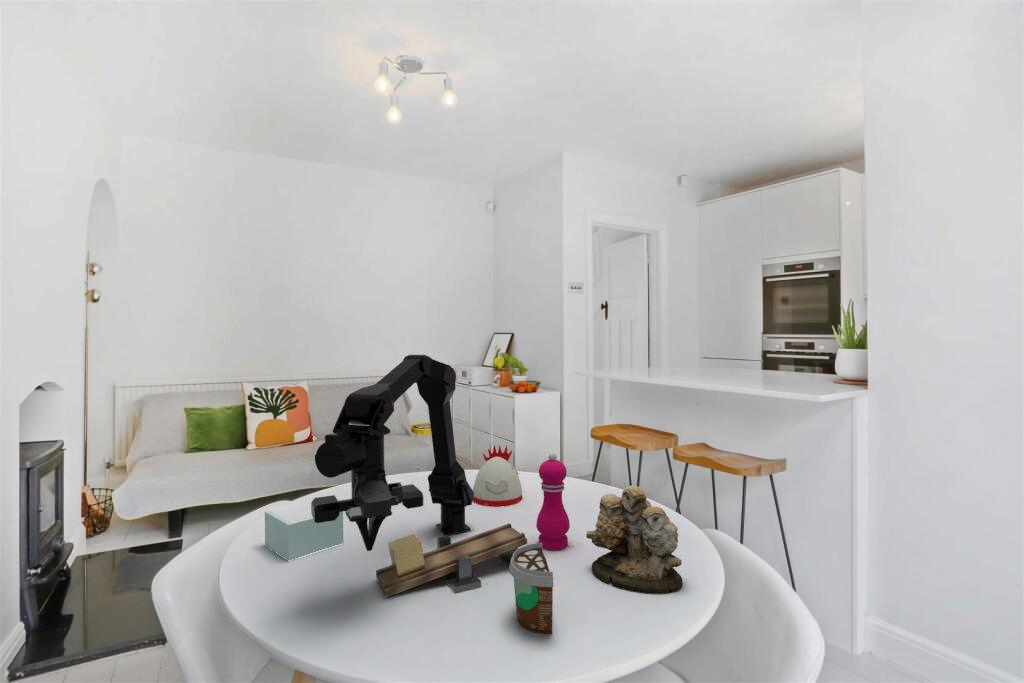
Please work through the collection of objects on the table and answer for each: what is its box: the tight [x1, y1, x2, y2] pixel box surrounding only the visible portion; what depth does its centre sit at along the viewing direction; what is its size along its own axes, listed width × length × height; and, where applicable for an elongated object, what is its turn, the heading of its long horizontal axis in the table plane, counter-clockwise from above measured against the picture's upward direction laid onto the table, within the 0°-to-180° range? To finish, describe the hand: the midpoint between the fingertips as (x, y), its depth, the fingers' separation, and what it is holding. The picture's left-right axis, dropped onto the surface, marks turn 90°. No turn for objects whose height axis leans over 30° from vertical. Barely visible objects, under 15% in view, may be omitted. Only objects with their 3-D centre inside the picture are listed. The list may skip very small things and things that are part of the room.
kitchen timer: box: [472, 444, 523, 508], centre depth 148 cm, size 14×14×15 cm
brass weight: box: [387, 533, 425, 578], centre depth 98 cm, size 5×4×6 cm
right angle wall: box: [264, 510, 344, 560], centre depth 117 cm, size 12×12×8 cm
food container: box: [508, 542, 554, 635], centre depth 86 cm, size 12×6×10 cm, turn 5°
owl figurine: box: [585, 484, 684, 595], centre depth 100 cm, size 18×12×17 cm, turn 63°
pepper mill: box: [535, 452, 571, 551], centre depth 116 cm, size 7×7×20 cm
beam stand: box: [436, 535, 520, 594], centre depth 105 cm, size 16×15×5 cm
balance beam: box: [375, 523, 528, 598], centre depth 102 cm, size 28×8×2 cm, turn 116°
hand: (369, 550), depth 95 cm, fingers closed
